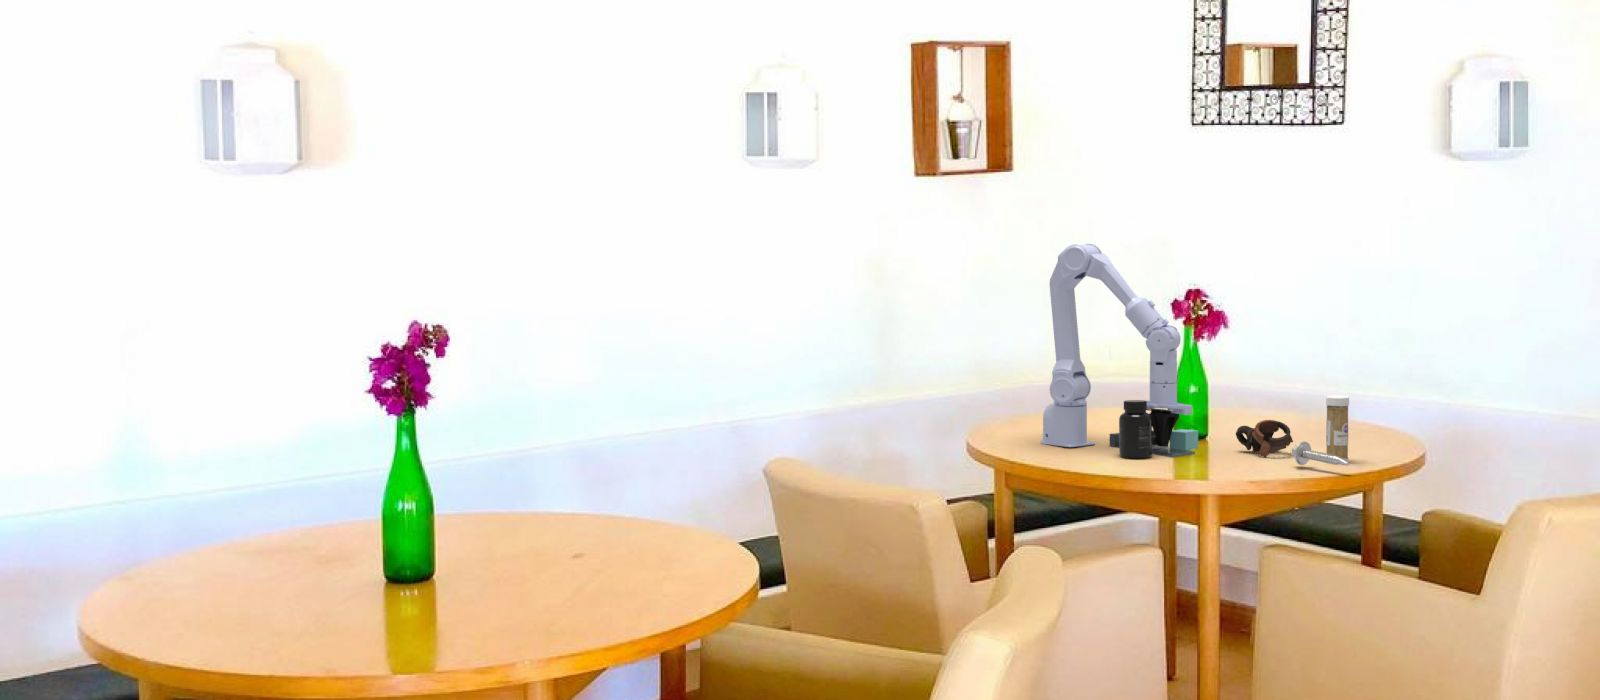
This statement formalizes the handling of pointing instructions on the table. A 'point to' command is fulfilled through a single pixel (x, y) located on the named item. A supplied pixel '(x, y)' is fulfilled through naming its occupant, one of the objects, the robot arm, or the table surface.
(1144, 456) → the supplement bottle
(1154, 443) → the grey stepped block
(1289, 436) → the brown looped part
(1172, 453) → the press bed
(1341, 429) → the sprinkles bottle
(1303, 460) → the screw
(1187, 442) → the teal block
